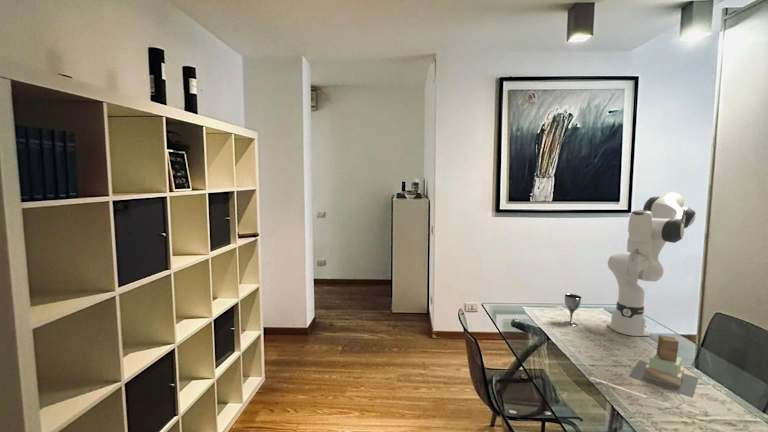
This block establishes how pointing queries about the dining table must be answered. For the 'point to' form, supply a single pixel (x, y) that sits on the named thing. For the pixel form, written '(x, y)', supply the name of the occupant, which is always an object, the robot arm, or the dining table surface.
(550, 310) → the dining table surface
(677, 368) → the tower top
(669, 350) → the walnut block
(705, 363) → the dining table surface
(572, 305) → the wine glass
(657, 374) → the tower base
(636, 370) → the mat
